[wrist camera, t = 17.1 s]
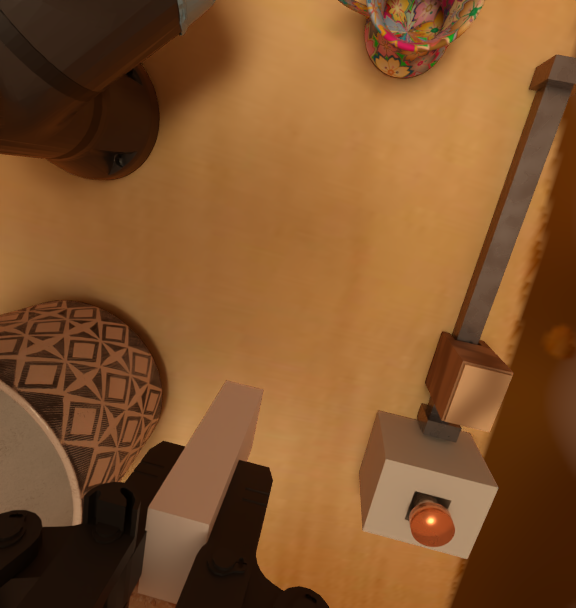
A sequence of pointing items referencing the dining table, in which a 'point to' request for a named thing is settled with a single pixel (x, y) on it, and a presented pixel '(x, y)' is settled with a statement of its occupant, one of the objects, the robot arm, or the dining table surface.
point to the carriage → (467, 382)
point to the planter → (70, 406)
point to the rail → (509, 214)
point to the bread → (147, 601)
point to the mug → (412, 31)
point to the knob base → (423, 481)
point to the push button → (430, 521)
